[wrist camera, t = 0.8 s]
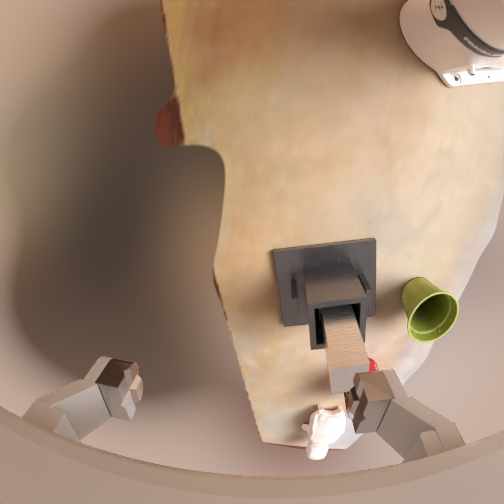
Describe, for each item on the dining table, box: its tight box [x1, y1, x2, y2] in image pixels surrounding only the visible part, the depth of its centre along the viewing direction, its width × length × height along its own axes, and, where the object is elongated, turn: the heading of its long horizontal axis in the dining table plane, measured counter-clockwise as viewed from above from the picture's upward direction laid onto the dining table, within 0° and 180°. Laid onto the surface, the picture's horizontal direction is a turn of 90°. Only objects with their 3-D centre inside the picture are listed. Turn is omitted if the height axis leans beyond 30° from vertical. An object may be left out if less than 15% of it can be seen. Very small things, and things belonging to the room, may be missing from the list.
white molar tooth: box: [301, 404, 346, 460], centre depth 58 cm, size 8×8×15 cm
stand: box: [273, 238, 376, 350], centre depth 42 cm, size 16×14×13 cm
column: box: [318, 304, 370, 394], centre depth 37 cm, size 4×5×20 cm
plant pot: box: [401, 277, 459, 343], centre depth 43 cm, size 9×9×9 cm
